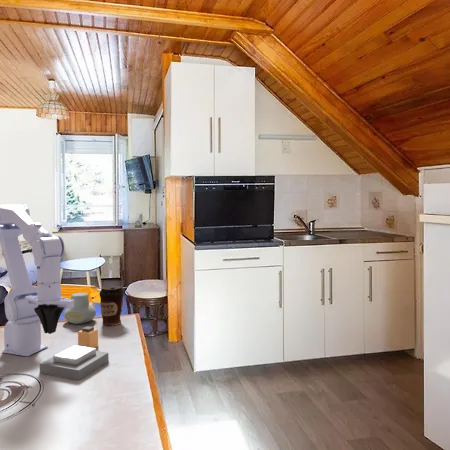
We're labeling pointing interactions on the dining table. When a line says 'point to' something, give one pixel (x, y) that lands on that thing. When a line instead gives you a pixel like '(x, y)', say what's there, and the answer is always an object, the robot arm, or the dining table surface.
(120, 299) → the coffee cup
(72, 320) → the air freshener
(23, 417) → the dining table surface
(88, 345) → the plug
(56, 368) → the socket plate
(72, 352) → the panel
